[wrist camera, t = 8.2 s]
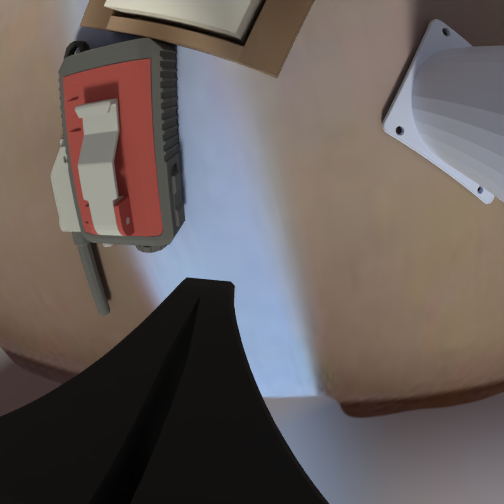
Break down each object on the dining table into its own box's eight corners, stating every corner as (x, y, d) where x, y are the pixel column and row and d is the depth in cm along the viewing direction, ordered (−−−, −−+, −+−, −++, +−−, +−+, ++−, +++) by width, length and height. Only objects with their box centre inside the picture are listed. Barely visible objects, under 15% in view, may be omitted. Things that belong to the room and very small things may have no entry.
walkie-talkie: (58, 52, 14) (101, 302, 24) (12, 54, 10) (78, 338, 20) (182, 23, 13) (199, 314, 23) (152, 6, 9) (185, 357, 19)
